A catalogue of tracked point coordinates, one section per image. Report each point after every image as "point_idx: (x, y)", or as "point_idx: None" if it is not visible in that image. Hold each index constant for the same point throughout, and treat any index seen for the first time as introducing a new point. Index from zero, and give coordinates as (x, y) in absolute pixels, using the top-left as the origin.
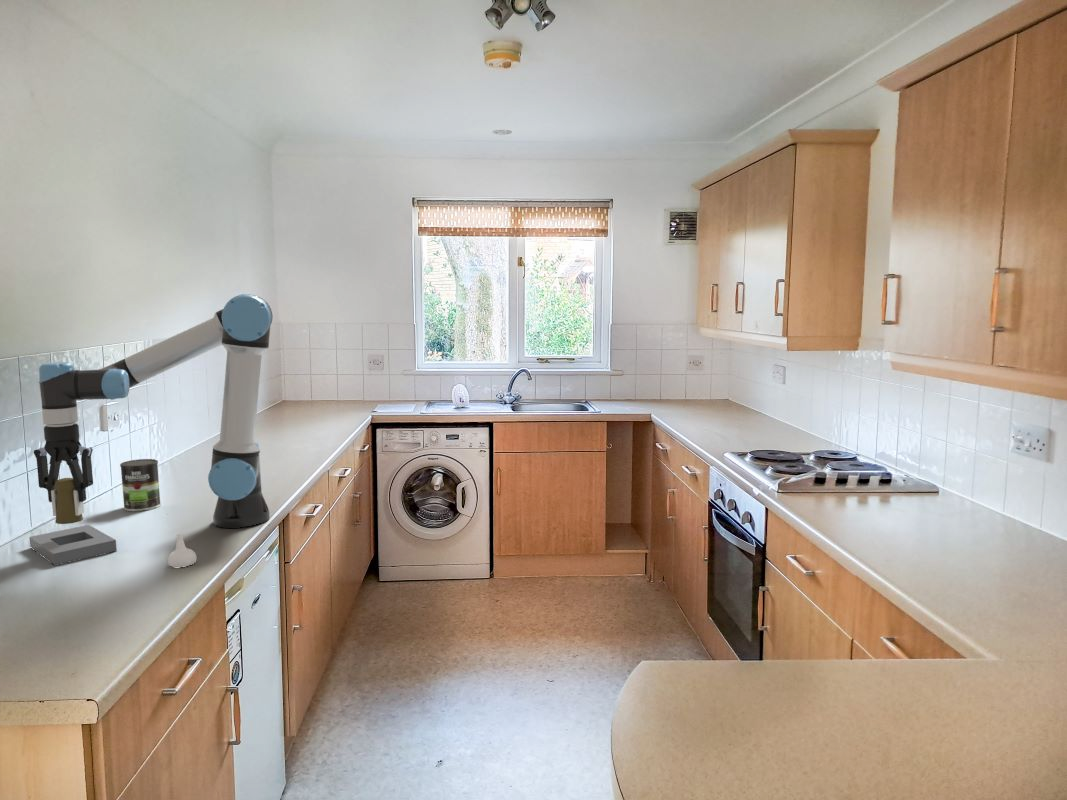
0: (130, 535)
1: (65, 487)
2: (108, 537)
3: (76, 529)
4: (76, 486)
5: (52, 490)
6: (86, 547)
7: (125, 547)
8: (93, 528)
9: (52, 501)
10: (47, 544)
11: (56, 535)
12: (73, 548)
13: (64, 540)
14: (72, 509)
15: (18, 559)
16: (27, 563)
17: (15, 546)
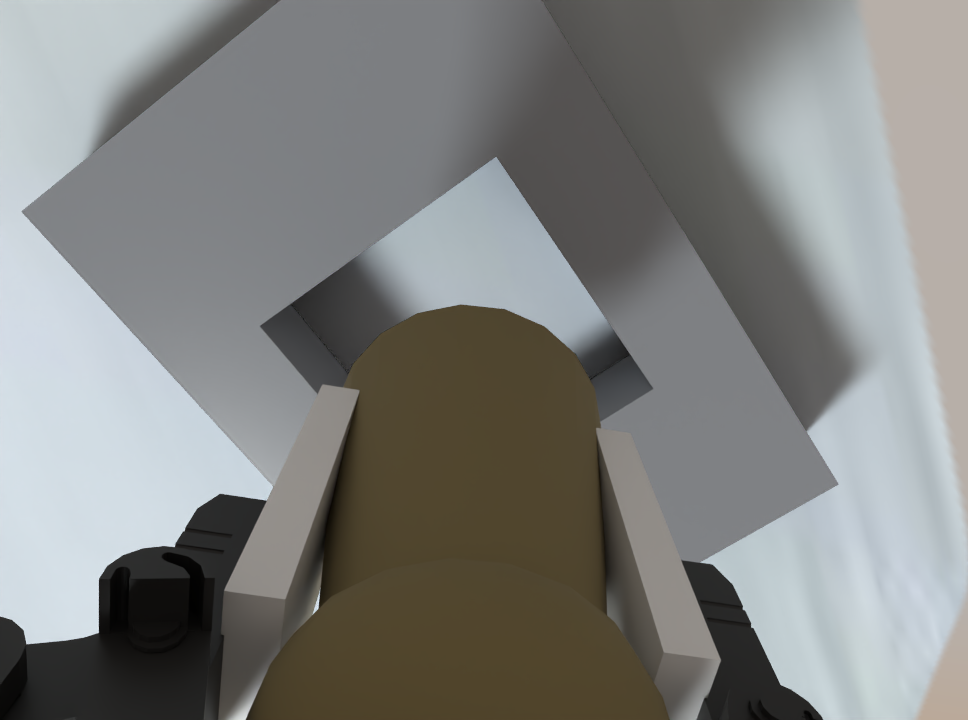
0: None
1: (394, 606)
2: (130, 304)
3: None
4: (193, 659)
5: (698, 679)
6: (219, 50)
7: (51, 285)
8: None
9: (661, 534)
10: (620, 218)
11: None
12: (318, 7)
13: None
14: (374, 416)
15: (819, 170)
16: (718, 32)
17: (916, 504)
